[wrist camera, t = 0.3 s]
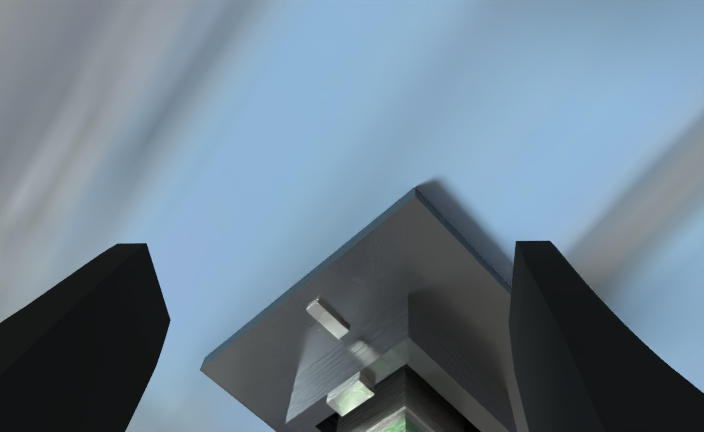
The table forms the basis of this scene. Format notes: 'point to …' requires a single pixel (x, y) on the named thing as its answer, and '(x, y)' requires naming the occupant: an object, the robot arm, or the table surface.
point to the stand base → (380, 330)
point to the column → (403, 408)
